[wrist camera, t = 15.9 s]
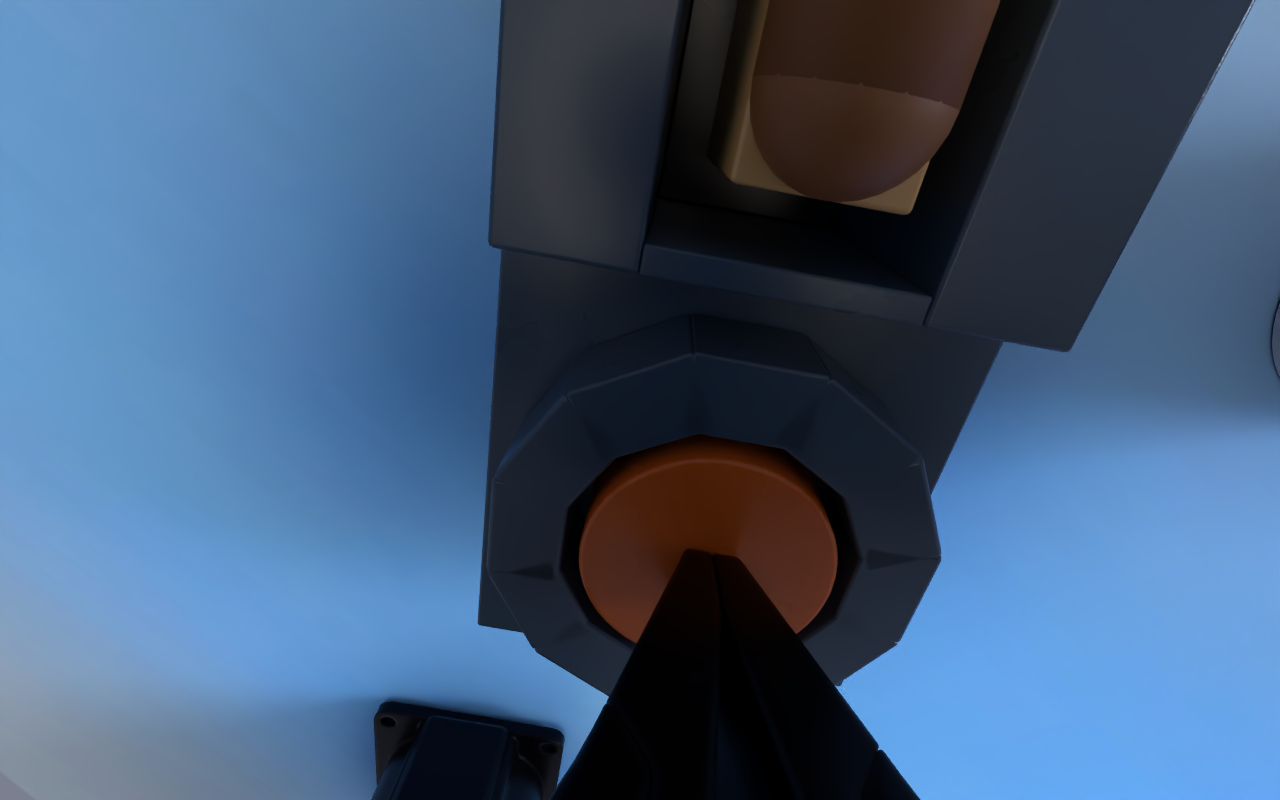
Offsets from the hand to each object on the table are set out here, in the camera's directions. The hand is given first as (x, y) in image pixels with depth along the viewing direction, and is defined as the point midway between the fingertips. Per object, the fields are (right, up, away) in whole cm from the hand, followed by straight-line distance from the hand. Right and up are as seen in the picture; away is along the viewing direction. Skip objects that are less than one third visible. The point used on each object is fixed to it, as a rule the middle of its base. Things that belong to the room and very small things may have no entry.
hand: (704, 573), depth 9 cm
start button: (0, +1, +2) cm, 2 cm away
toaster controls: (0, +3, +5) cm, 6 cm away
